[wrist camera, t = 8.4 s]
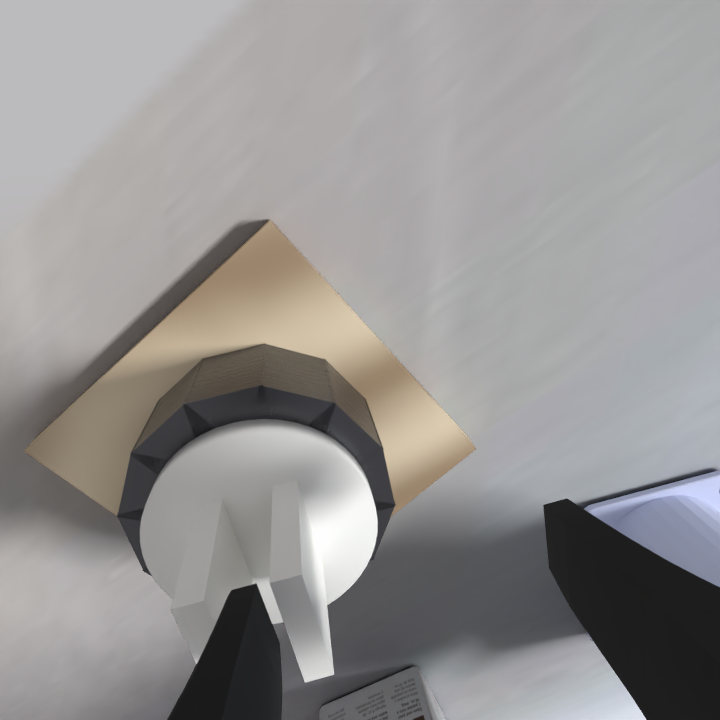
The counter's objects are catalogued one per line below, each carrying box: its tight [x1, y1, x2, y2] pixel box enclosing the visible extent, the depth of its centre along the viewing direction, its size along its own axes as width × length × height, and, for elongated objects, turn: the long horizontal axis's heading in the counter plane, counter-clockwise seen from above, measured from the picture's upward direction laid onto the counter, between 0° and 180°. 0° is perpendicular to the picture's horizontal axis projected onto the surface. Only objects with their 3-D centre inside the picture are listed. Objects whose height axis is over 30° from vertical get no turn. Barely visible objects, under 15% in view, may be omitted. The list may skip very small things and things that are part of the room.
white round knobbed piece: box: [140, 419, 378, 683], centre depth 16 cm, size 8×8×6 cm
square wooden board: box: [24, 219, 476, 516], centre depth 22 cm, size 13×13×1 cm
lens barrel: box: [117, 344, 396, 576], centre depth 19 cm, size 9×9×4 cm
